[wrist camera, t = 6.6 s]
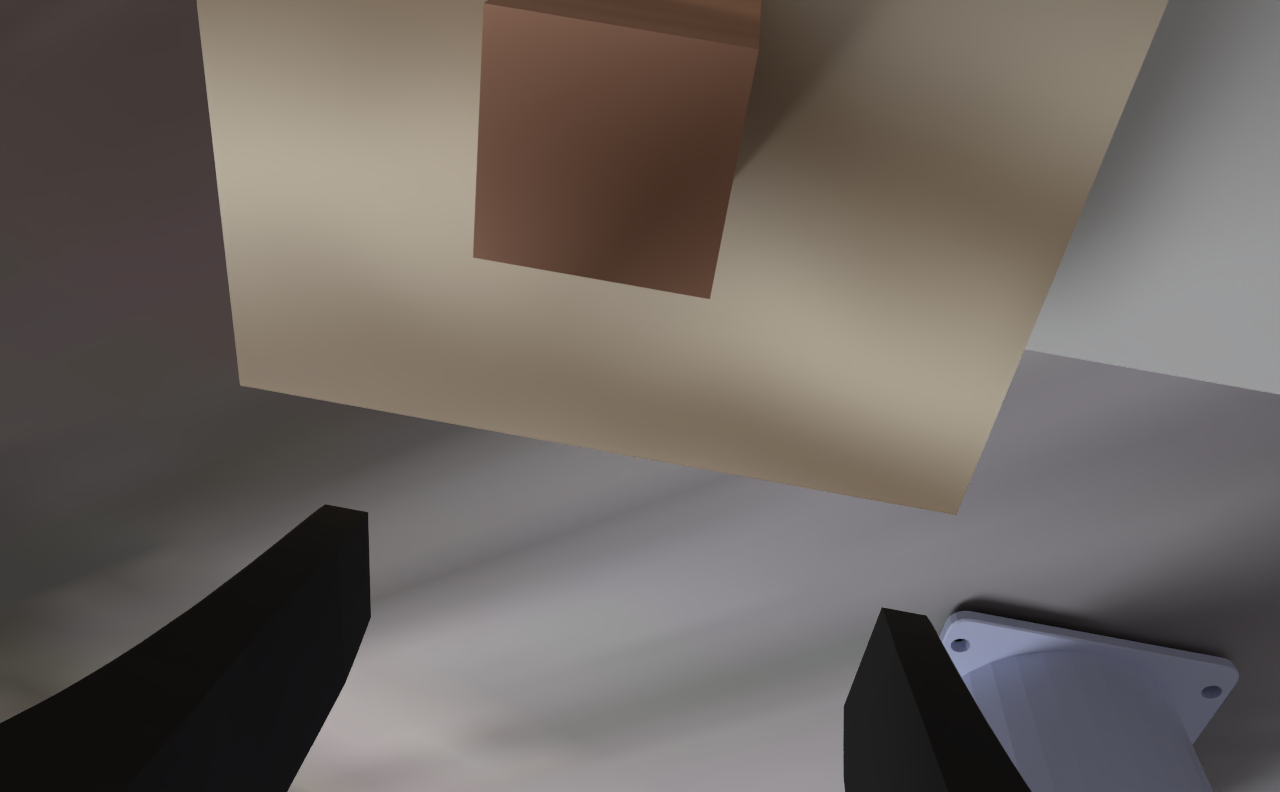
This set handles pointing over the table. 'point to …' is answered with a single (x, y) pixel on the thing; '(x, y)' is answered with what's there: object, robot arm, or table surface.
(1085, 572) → the table surface
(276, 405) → the table surface
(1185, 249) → the mat
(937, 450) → the lid
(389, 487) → the table surface
